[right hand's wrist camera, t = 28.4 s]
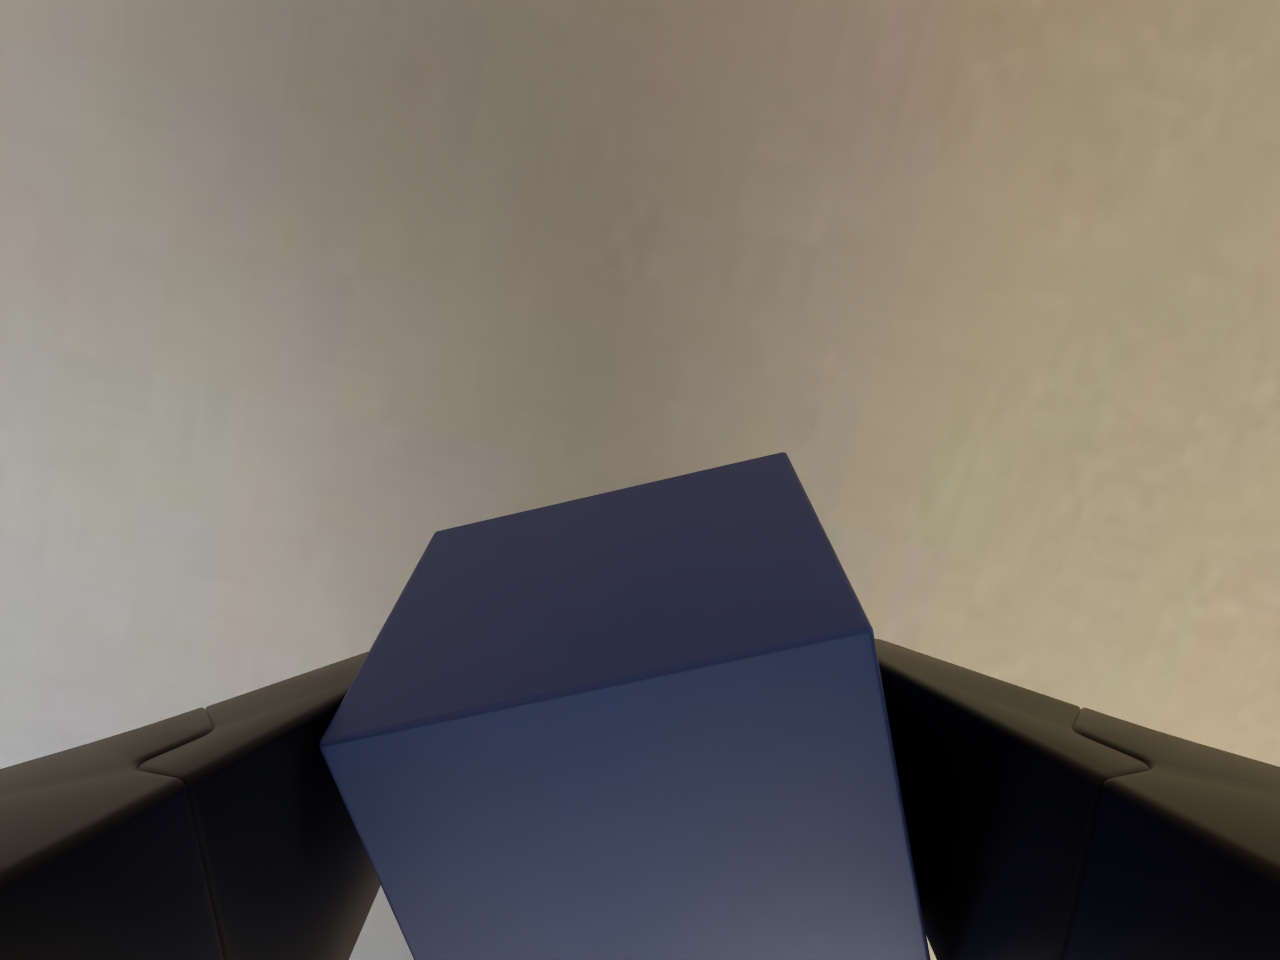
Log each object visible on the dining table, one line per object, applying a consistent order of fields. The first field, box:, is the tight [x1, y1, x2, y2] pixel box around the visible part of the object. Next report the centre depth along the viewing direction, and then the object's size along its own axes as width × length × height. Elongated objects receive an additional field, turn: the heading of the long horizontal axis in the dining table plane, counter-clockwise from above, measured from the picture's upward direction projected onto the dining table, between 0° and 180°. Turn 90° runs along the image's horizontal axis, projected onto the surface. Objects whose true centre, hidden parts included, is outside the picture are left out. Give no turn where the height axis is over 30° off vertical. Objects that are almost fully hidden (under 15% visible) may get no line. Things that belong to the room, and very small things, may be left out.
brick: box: [320, 452, 930, 960], centre depth 10 cm, size 5×4×5 cm
